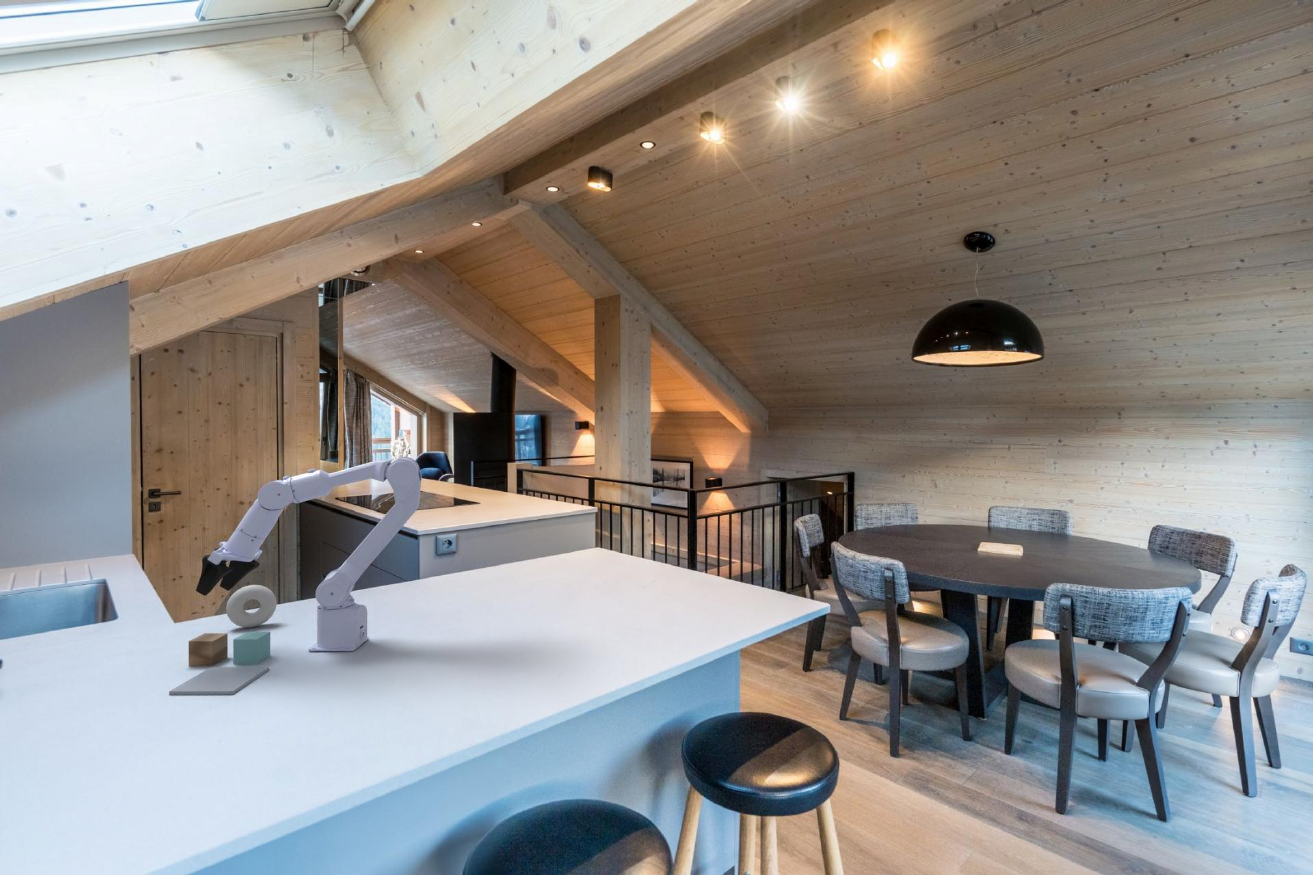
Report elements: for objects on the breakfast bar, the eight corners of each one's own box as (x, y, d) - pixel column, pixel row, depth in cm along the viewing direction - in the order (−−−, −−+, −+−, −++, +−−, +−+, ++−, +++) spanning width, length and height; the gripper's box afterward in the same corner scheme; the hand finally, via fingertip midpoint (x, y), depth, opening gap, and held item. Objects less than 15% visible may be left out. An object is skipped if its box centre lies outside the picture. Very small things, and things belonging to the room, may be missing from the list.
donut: (225, 632, 142) (225, 589, 142) (226, 628, 145) (226, 585, 145) (276, 625, 147) (276, 584, 147) (276, 621, 150) (276, 580, 150)
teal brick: (270, 655, 129) (270, 631, 129) (256, 664, 125) (256, 639, 124) (247, 655, 129) (247, 631, 129) (233, 664, 124) (233, 639, 124)
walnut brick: (227, 657, 128) (227, 633, 128) (212, 666, 123) (212, 641, 123) (204, 657, 128) (204, 633, 127) (188, 666, 123) (188, 641, 123)
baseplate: (269, 669, 121) (269, 666, 121) (232, 694, 110) (232, 691, 110) (211, 669, 121) (211, 666, 121) (169, 694, 110) (169, 691, 110)
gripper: (254, 522, 137) (218, 577, 135) (213, 523, 123) (171, 584, 121) (282, 538, 137) (246, 593, 135) (244, 541, 123) (203, 603, 121)
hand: (213, 590), depth 128 cm, fingers open, 7 cm apart
